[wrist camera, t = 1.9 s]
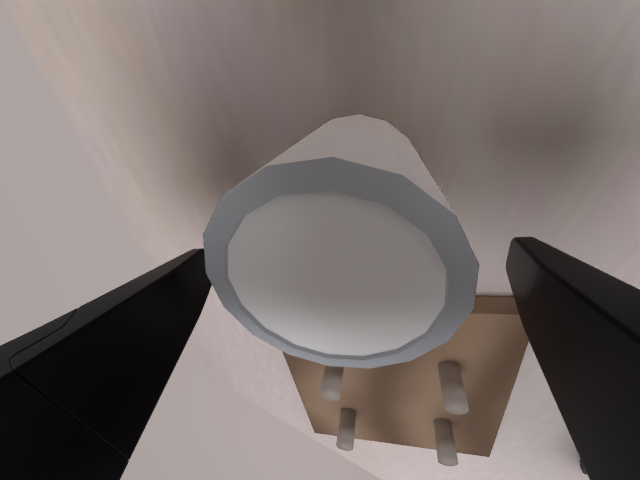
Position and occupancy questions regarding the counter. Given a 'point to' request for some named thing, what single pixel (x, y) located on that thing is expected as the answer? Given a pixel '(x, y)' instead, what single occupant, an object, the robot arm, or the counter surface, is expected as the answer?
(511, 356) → the pin board
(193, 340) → the counter surface
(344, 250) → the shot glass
